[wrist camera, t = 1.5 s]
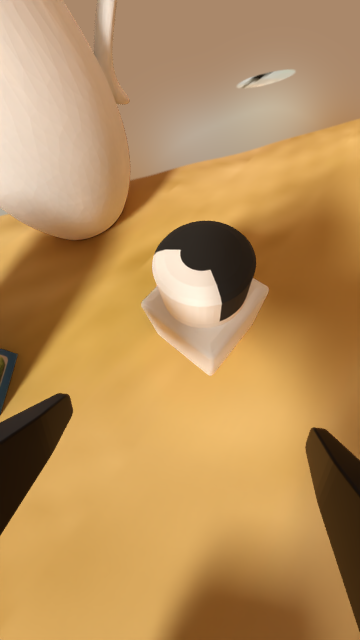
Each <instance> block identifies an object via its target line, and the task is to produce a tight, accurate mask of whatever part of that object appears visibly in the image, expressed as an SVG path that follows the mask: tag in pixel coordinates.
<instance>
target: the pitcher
mask: <svg viewBox="0 0 360 640" xmlns="http://www.w3.org/2000/svg"><path fill="white" fill-rule="evenodd" d="M116 5H117V0H97V8H96V20H95V32H94V53H93V51H92V49H91V47H90V46H89V44H88V42H87V40H86V38H85V37H84V35H83V33H82V32H81V30H80V28H79V26H78V24H77V23H76V21H75V19H74V18H73V16H72V15H71V13H70V11H69V10H68V8H67V6H66V5H65V3H64V2H63V0H0V208H2V209H3V210H4V211H6V212H7V213H8V214H10V215H11V216H13V217H14V218H16V219H17V220H19V221H21V222H22V223H24V224H26V225H28V226H30V227H32V228H34V229H37V230H39V231H41V232H44V233H46V234H49V235H52V236H55V237H59V238H63V239H68V240H82V239H87V238H91V237H93V236H96V235H98V234H100V233H102V232H104V231H105V230H107V229H108V228H109V227H110V226H112V225H113V224H114V223H115V222H116V220H117V219H118V218H119V216H120V214H121V213H122V211H123V208H124V205H125V202H126V199H127V195H128V189H129V182H130V156H129V149H128V144H127V138H126V134H125V130H124V126H123V122H122V119H121V116H120V113H119V110H118V107H117V104H128V103H129V102H130V100H129V98H128V96H127V95H126V94H125V92H124V91H123V89H122V88H121V86H120V85H119V82H118V80H117V78H116V74H115V71H114V67H113V57H112V48H113V32H114V22H115V13H116Z"/></svg>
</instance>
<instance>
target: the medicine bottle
mask: <svg viewBox="0 0 360 640" xmlns="http://www.w3.org/2000/svg"><path fill="white" fill-rule="evenodd" d="M255 268H256V257H255V253H254V250H253V247H252V245H251V244H250V242H249V241H248V240H247V239H246V237H245V236H244V235H242V234H241V233H240V232H239V231H237V230H236V229H234V228H233V227H231V226H229V225H226V224H223V223H220V222H215V221H197V222H192V223H189V224H185V225H183V226H181V227H179V228H177V229H175V230H174V231H172V232H171V233H170V234H169V235H168V236H167V237H165V238H164V239H163V241H162V242H161V243H160V244H159V246H158V248H157V249H156V251H155V254H154V257H153V263H152V270H153V275H154V279H155V281H156V284H157V287H156V288H155V289H154V290H153V291H152V292H151V293H150V294H149V295H148V296H147V297H146V298H145V299H144V300H143V301H142V308H143V309H144V311H145V313H146V314H147V316H148V318H149V319H150V321H151V323H152V324H153V326H154V328H155V329H156V331H157V333H158V334H159V335H160V336H161V337H162V338H163V339H165V340H166V341H167V342H168V343H170V344H171V345H172V346H173V347H174V348H176V349H177V350H178V351H179V352H181V353H182V354H183V355H184V356H185V357H187V358H188V359H189V360H190V361H192V362H193V363H194V364H195V365H197V366H198V367H199V368H200V369H201V370H203V371H204V372H205V373H206V374H208V375H210V376H211V375H213V374H214V373H215V372H216V370H217V369H218V368H219V367H220V365H221V364H222V363H223V361H224V360H225V359H226V358H227V356H228V355H229V354H230V352H231V351H232V350H233V349H234V347H235V346H236V345H237V344H238V342H239V341H240V340H241V338H242V337H243V336H244V335H245V333H246V332H247V331H248V330H249V328H250V327H251V326H252V324H253V322H254V320H255V318H256V316H257V314H258V312H259V310H260V308H261V306H262V304H263V302H264V300H265V298H266V296H267V294H268V292H269V288H268V287H267V286H266V285H264V284H262V283H261V282H259V281H257V280H256V279H254V278H253V276H254V272H255Z"/></svg>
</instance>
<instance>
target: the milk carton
mask: <svg viewBox="0 0 360 640" xmlns="http://www.w3.org/2000/svg"><path fill="white" fill-rule="evenodd" d="M17 356H18V354H16V353H13V352H10V351H6V350H3V349H0V414H1V411H2V407H3V404H4V400H5V397H6V393H7V390H8V386H9V383H10V380H11V376H12V373H13V369H14V366H15V362H16V359H17Z"/></svg>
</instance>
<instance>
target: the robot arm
mask: <svg viewBox="0 0 360 640" xmlns="http://www.w3.org/2000/svg"><path fill="white" fill-rule="evenodd" d="M72 413H73V408H72V404H71V399H70V396H69V395H68V394H62V393H58V394H56V395H54V396H52V397H50V398H48V399H46V400H44V401H42V402H40V403H38V404H36V405H34V406H32V407H30V408H28V409H26V410H24V411H22V412H20V413H18V414H16V415H14V416H12V417H10V418H8V419H6V420H5V421H3V422H1V423H0V535H1V534H2V532H3V531H4V529H5V527H6V526H7V524H8V523H9V521H10V519H11V518H12V516H13V515H14V513H15V512H16V510H17V508H18V507H19V505H20V504H21V502H22V501H23V499H24V497H25V496H26V494H27V493H28V491H29V490H30V488H31V486H32V485H33V483H34V482H35V480H36V479H37V477H38V475H39V474H40V472H41V471H42V469H43V468H44V466H45V464H46V463H47V461H48V460H49V458H50V456H51V455H52V453H53V451H54V449H55V447H56V446H57V444H58V442H59V440H60V438H61V436H62V434H63V432H64V430H65V428H66V426H67V424H68V422H69V420H70V419H71V416H72ZM306 454H307V458H308V463H309V467H310V472H311V476H312V481H313V485H314V490H315V494H316V498H317V502H318V506H319V509H320V512H321V515H322V518H323V521H324V524H325V527H326V530H327V534H328V537H329V540H330V543H331V546H332V549H333V552H334V555H335V558H336V561H337V564H338V567H339V570H340V573H341V576H342V579H343V583H344V586H345V589H346V592H347V595H348V598H349V601H350V604H351V607H352V610H353V613H354V616H355V619H356V622H357V625H358V628H359V631H360V460H359V459H358V458H357V457H355V456H354V455H353V454H352V453H351V452H350V451H349V450H348V449H347V448H346V447H345V446H343V445H342V444H341V443H340V442H339V441H338V440H337V439H336V438H335V437H334V436H333V435H332V434H330V433H329V432H328V431H327V430H326V429H322V428H315V427H313V428H311V430H310V432H309V436H308V439H307V442H306Z"/></svg>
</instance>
